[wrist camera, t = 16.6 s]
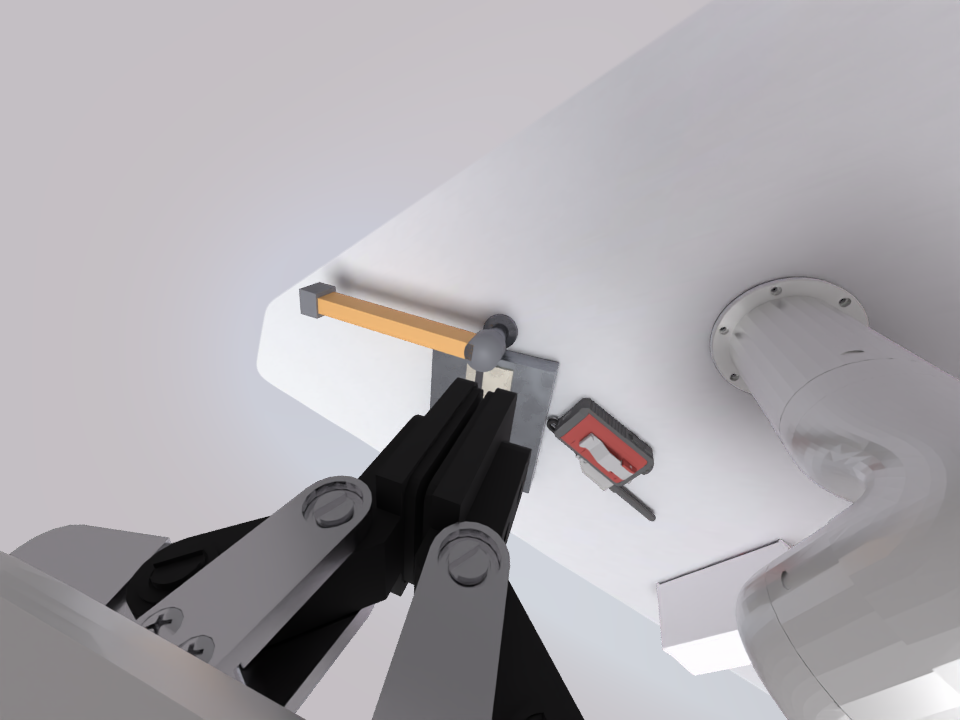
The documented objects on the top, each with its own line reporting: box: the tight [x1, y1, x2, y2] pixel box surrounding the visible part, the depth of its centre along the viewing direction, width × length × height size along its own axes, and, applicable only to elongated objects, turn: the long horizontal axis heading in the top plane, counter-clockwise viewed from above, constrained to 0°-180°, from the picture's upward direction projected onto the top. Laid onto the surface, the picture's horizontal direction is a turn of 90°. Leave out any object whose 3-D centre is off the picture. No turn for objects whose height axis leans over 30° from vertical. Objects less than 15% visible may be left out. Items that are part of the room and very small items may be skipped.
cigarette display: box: [657, 539, 791, 676], centre depth 48 cm, size 20×6×9 cm, turn 141°
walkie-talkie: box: [547, 398, 656, 521], centre depth 48 cm, size 9×4×20 cm
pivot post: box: [483, 314, 518, 348], centre depth 46 cm, size 4×4×4 cm
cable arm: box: [299, 282, 506, 372], centre depth 44 cm, size 26×4×4 cm, turn 81°
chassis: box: [430, 349, 559, 493], centre depth 52 cm, size 16×20×4 cm
